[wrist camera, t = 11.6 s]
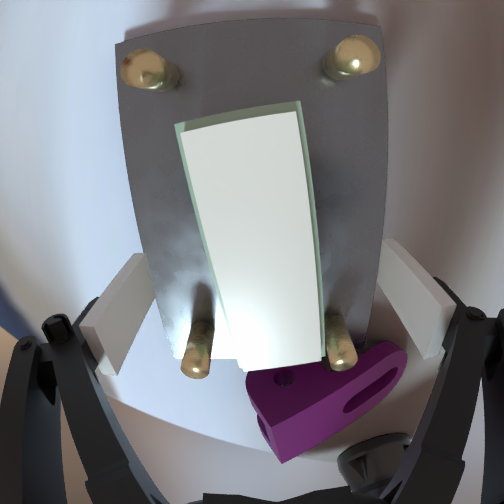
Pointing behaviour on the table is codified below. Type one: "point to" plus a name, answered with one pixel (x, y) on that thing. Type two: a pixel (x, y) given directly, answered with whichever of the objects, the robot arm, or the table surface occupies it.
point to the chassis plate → (319, 148)
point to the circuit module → (259, 230)
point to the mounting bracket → (320, 398)
